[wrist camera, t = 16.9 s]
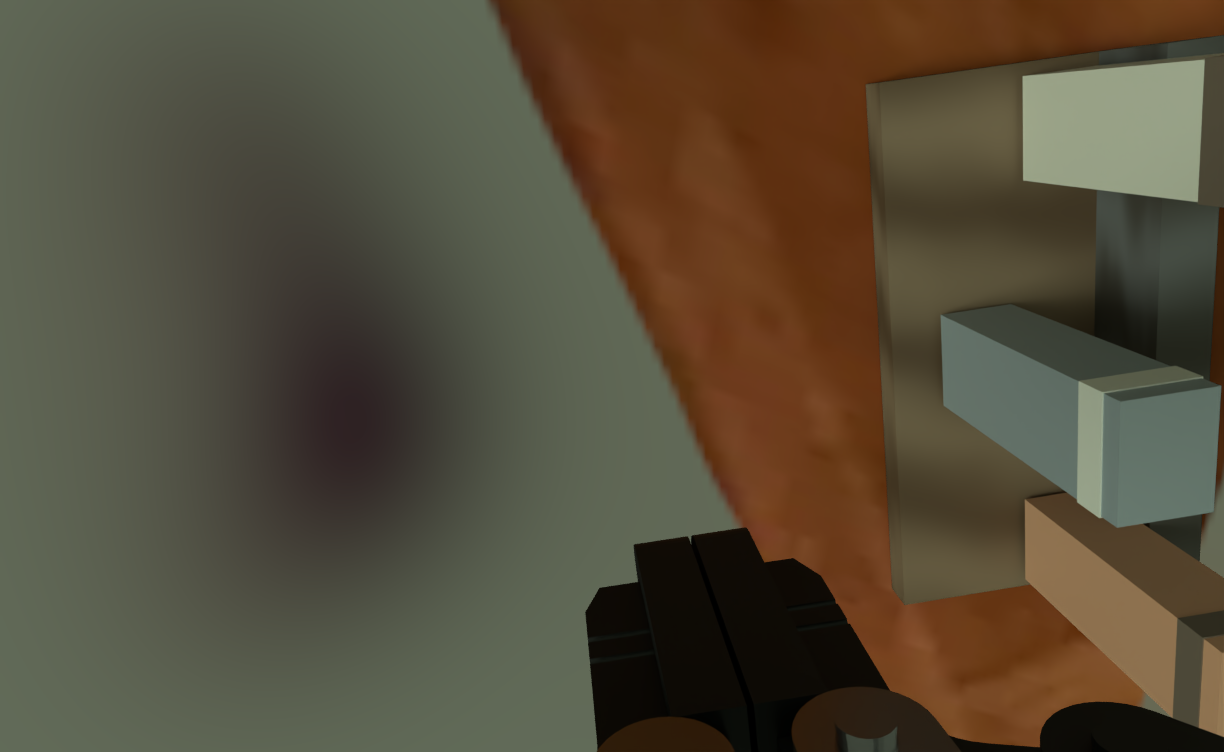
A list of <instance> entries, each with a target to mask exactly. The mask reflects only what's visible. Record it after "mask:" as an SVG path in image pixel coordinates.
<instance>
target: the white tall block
mask: <svg viewBox="0 0 1224 752" xmlns="http://www.w3.org/2000/svg"><path fill="white" fill-rule="evenodd" d="M1023 181H1031V182H1039V183H1047V184H1055V185H1063V186H1071V187H1079V188H1087V189H1096V190H1104V191H1112V192H1120V193H1128V194H1136V195H1144V196H1152V197H1160V198H1168V199H1176V200H1184V201H1192V202H1198V204H1199V205H1207V206H1215V207H1223V208H1224V53H1220V54H1210V55H1200V56H1189V57H1179V58H1169V59H1159V60H1149V61H1139V62H1128V63H1118V64H1108V65H1098V66H1091V67H1084V68H1077V69H1070V70H1063V71H1056V72H1049V73H1041V74H1034V75H1027V76H1023Z"/></svg>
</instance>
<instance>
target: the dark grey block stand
mask: <svg viewBox="0 0 1224 752" xmlns="http://www.w3.org/2000/svg"><path fill="white" fill-rule="evenodd" d="M1220 53H1224V35H1222V36H1214V37H1206V38H1198V39H1190V40H1182V41H1174V42H1166V43H1158V44H1150V45H1142V46H1134V47H1126V48H1119V49H1112V50H1105V51H1098V52H1091V53H1084V54H1077V55H1070V56H1062V57H1055V58H1048V59H1041V60H1034V61H1027V62H1020V63H1013V64H1006V65H999V66H992V67H985V68H978V69H971V70H964V71H957V72H950V73H943V74H935V75H928V76H921V77H914V78H907V79H900V80H893V81H886V82H879V83H872V84H866V98H867V117H868V136H869V155H870V174H871V193H872V212H873V231H874V250H875V269H876V288H877V307H878V326H879V345H880V365H881V384H882V403H883V422H884V441H885V460H886V479H887V498H888V517H889V536H890V555H891V574H892V589H893V590H894V592H895V593H896V594H897V596H898V597H899V598H900V599H901V601H902V602H903V603H904V605H907V604H913V603H919V602H926V601H932V600H938V599H944V598H950V597H956V596H962V595H968V594H974V593H980V592H986V591H992V590H999V589H1005V588H1011V587H1017V586H1023V585H1029V584H1030V583H1029V582H1028V581H1027V580H1026V579H1025V499H1030V498H1036V497H1043V496H1049V495H1055V494H1061V493H1067V492H1066V491H1064V490H1063V489H1061V488H1060V487H1059V486H1057V485H1056V484H1054V483H1053V482H1051V481H1050V480H1049V479H1047V478H1046V477H1044V476H1043V475H1041V474H1040V473H1039V472H1037V471H1036V470H1034V469H1033V468H1032V467H1030V466H1029V465H1027V464H1026V463H1024V462H1023V461H1022V460H1020V459H1019V458H1017V457H1016V456H1014V455H1013V454H1012V453H1010V452H1009V451H1007V450H1006V449H1005V448H1003V447H1002V446H1000V445H999V444H997V443H996V442H995V441H993V440H992V439H990V438H989V437H987V436H986V435H985V434H983V433H982V432H980V431H979V430H978V429H976V428H975V427H973V426H972V425H970V424H969V423H968V422H966V421H965V420H963V419H962V418H961V417H959V416H958V415H956V414H955V413H953V412H952V411H951V410H949V409H948V408H946V407H945V406H944V403H943V372H942V341H941V315H942V314H949V313H956V312H962V311H969V310H975V309H982V308H988V307H995V306H1002V305H1008V304H1012V305H1015V306H1017V307H1020V308H1022V309H1025V310H1027V311H1030V312H1033V313H1035V314H1038V315H1040V316H1043V317H1045V318H1048V319H1051V320H1053V321H1056V322H1058V323H1061V324H1063V325H1066V326H1069V327H1071V328H1074V329H1076V330H1079V331H1082V332H1084V333H1087V334H1089V335H1092V336H1094V337H1097V338H1100V339H1102V340H1105V341H1107V342H1110V343H1112V344H1115V345H1118V346H1120V347H1123V348H1125V349H1128V350H1130V351H1133V352H1136V353H1138V354H1141V355H1143V356H1146V357H1148V358H1151V359H1154V360H1156V361H1159V362H1161V363H1164V364H1166V365H1169V366H1178V367H1180V368H1183V369H1186V370H1188V371H1191V372H1193V373H1196V374H1199V375H1201V376H1203V379H1205V380H1208V381H1210V363H1211V345H1212V327H1213V309H1214V291H1215V274H1216V256H1217V238H1218V220H1219V207H1215V206H1207V205H1199V204H1198V202H1192V201H1184V200H1176V199H1168V198H1160V197H1152V196H1144V195H1136V194H1128V193H1120V192H1112V191H1104V190H1096V189H1087V188H1079V187H1071V186H1063V185H1055V184H1047V183H1039V182H1031V181H1023V76H1027V75H1034V74H1041V73H1049V72H1056V71H1063V70H1070V69H1077V68H1084V67H1091V66H1098V65H1108V64H1118V63H1128V62H1139V61H1149V60H1159V59H1169V58H1179V57H1189V56H1200V55H1210V54H1220ZM1143 524H1144V525H1145V526H1147V527H1148V528H1150V529H1151V530H1153V531H1154V532H1156V533H1157V534H1159V535H1160V536H1162V537H1163V538H1165V539H1166V540H1168V541H1169V542H1171V543H1172V544H1174V545H1175V546H1177V547H1178V548H1180V549H1181V550H1183V551H1184V552H1186V553H1187V554H1189V555H1190V556H1192V557H1193V558H1195V559H1196V560H1198V561H1200V543H1201V525H1202V514H1199V515H1193V516H1186V517H1180V518H1174V519H1168V520H1162V521H1156V522H1150V523H1143Z"/></svg>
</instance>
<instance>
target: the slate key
mask: <svg viewBox="0 0 1224 752" xmlns="http://www.w3.org/2000/svg"><path fill="white" fill-rule="evenodd" d="M941 341H942V372H943V403H944V406H945V407H946V408H948V409H949V410H951V411H952V412H953V413H955V414H956V415H958V416H959V417H961V418H962V419H963V420H965V421H966V422H968V423H969V424H970V425H972V426H973V427H975V428H976V429H978V430H979V431H980V432H982V433H983V434H985V435H986V436H987V437H989V438H990V439H992V440H993V441H995V442H996V443H997V444H999V445H1000V446H1002V447H1003V448H1005V449H1006V450H1007V451H1009V452H1010V453H1012V454H1013V455H1014V456H1016V457H1017V458H1019V459H1020V460H1022V461H1023V462H1024V463H1026V464H1027V465H1029V466H1030V467H1032V468H1033V469H1034V470H1036V471H1037V472H1039V473H1040V474H1041V475H1043V476H1044V477H1046V478H1047V479H1049V480H1050V481H1051V482H1053V483H1054V484H1056V485H1057V486H1059V487H1060V488H1061V489H1063V490H1064V491H1066V492H1067V493H1068V494H1070V495H1071V496H1073V497H1074V498H1076V499H1077V503H1079V504H1080V505H1082V506H1083V507H1084V508H1086V509H1087V510H1089V511H1090V512H1091V513H1093V514H1094V515H1096V516H1097V517H1098V518H1104V519H1105V520H1107V521H1108V522H1110V523H1111V524H1112V525H1114V526H1115V527H1117V528H1119V527H1125V526H1131V525H1137V524H1143V523H1150V522H1156V521H1162V520H1168V519H1174V518H1180V517H1186V516H1193V515H1199V514H1205V513H1211V512H1214V500H1215V483H1216V466H1217V449H1218V433H1219V416H1220V399H1221V386H1220V385H1218V384H1215V383H1213V382H1210V381H1208V380H1205V379H1203V376H1201V375H1199V374H1196V373H1193V372H1191V371H1188V370H1186V369H1183V368H1180V367H1178V366H1169V365H1166V364H1164V363H1161V362H1159V361H1156V360H1154V359H1151V358H1148V357H1146V356H1143V355H1141V354H1138V353H1136V352H1133V351H1130V350H1128V349H1125V348H1123V347H1120V346H1118V345H1115V344H1112V343H1110V342H1107V341H1105V340H1102V339H1100V338H1097V337H1094V336H1092V335H1089V334H1087V333H1084V332H1082V331H1079V330H1076V329H1074V328H1071V327H1069V326H1066V325H1063V324H1061V323H1058V322H1056V321H1053V320H1051V319H1048V318H1045V317H1043V316H1040V315H1038V314H1035V313H1033V312H1030V311H1027V310H1025V309H1022V308H1020V307H1017V306H1015V305H1012V304H1008V305H1002V306H995V307H988V308H982V309H975V310H969V311H962V312H956V313H949V314H942V315H941Z"/></svg>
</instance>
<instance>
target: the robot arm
mask: <svg viewBox="0 0 1224 752" xmlns="http://www.w3.org/2000/svg"><path fill="white" fill-rule="evenodd" d="M634 555H635V563H636V571H637V578H638V582H635V583H629V584H622V585H616V586H609V587H602V588H599V590H598V592H597V593H596V595H595V597H594V598H593V600H592V602H591V604H590V605H589V607H588V609H587V610H586V612H585V613H586V624H587V635H588V646H589V657H590V668H591V679H592V689H593V701H594V713H595V723H596V735H597V745H598V747H597V752H1224V737H1223V736H1220V735H1217V734H1214V733H1212V732H1209V731H1206V730H1203V729H1201V728H1198V727H1195V726H1193V725H1190V724H1187V723H1184V722H1182V721H1179V720H1176V719H1174V718H1171V717H1168V716H1165V715H1162V714H1160V713H1157V712H1154V711H1151V710H1148V709H1145V708H1142V707H1137V706H1133V705H1128V704H1122V703H1114V702H1088V703H1081V704H1076V705H1072V706H1069V707H1066V708H1064V709H1061V710H1060V711H1058V712H1056V713H1054V714H1053V715H1052V716H1051V717H1050V718H1049V719H1048V720H1047V721H1046V722H1045V724H1044V726H1043V727H1042V731H1041V735H1040V747H1027V746H1014V745H1001V744H988V743H980V742H972V741H967V740H963V739H958V738H955V737H952V736H949V735H948V734H947V733H946V731H945V730H944V729H943V728H942V726H941V725H940V724H939V722H938V721H937V720H936V719H935V717H934V716H933V715H932V714H931V713H930V712H929V711H928V710H927V709H925V708H924V707H923V706H922V705H920V704H919V703H917V702H915V701H914V700H912V699H910V698H908V697H906V696H903V695H901V694H899V693H895V692H892V691H890V690H889V688H888V686H887V685H886V683H885V681H884V680H883V678H882V676H881V675H880V673H879V671H878V670H877V668H876V666H875V665H874V663H873V661H872V660H871V658H870V656H869V655H868V653H867V651H866V650H865V648H864V647H863V645H862V643H861V642H860V640H859V638H858V637H857V635H856V633H855V632H854V630H853V628H852V627H851V625H850V624H848V623H847V618H846V617H845V615H844V613H843V612H842V610H841V608H840V607H839V605H838V604H836V602H835V598H834V597H833V595H832V593H831V592H830V590H829V588H828V587H827V585H826V583H825V582H824V580H823V578H822V577H821V576H820V575H819V574H817V573H816V572H814V571H812V570H811V569H809V568H808V567H806V566H805V565H803V564H801V563H800V562H798V561H797V560H795V559H793V558H791V559H785V560H778V561H772V562H765V563H764V561H763V559H762V557H761V555H760V553H759V551H758V549H757V547H756V545H755V543H754V541H753V539H752V537H751V535H750V533H749V531H748V529H747V528H738V529H732V530H726V531H718V532H712V533H705V534H699V535H692V536H691V543H690V540H689V538H688V537H680V538H674V539H667V540H660V541H654V542H647V543H640V544H635V545H634Z"/></svg>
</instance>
